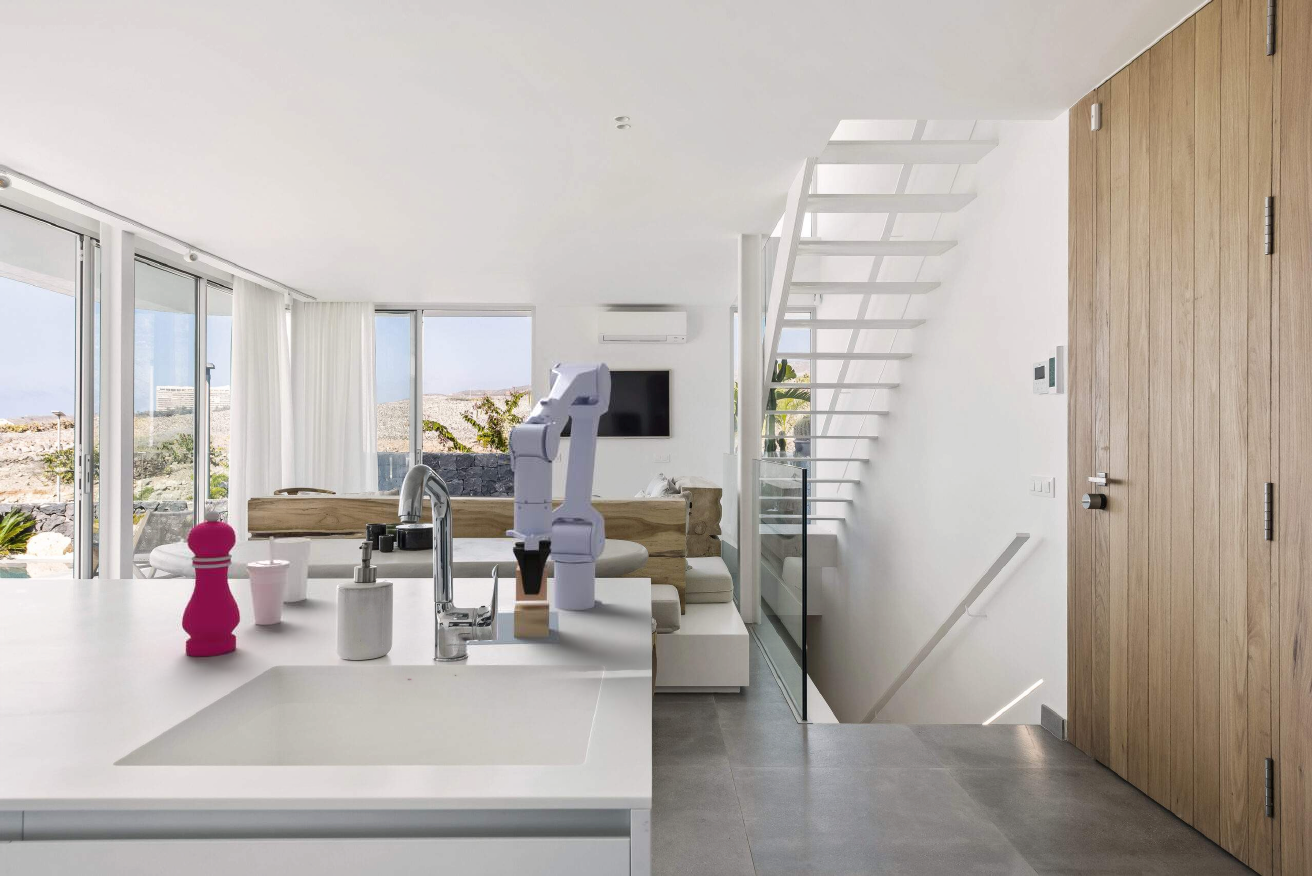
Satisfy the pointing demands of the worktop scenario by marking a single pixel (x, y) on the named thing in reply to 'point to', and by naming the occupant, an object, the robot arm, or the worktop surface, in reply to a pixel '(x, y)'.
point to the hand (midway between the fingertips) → (532, 590)
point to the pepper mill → (211, 590)
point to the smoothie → (268, 588)
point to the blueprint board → (508, 637)
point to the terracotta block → (522, 597)
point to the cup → (294, 565)
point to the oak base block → (531, 620)
